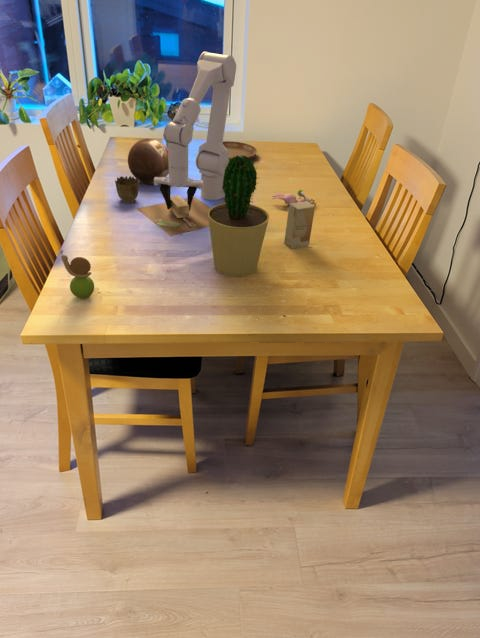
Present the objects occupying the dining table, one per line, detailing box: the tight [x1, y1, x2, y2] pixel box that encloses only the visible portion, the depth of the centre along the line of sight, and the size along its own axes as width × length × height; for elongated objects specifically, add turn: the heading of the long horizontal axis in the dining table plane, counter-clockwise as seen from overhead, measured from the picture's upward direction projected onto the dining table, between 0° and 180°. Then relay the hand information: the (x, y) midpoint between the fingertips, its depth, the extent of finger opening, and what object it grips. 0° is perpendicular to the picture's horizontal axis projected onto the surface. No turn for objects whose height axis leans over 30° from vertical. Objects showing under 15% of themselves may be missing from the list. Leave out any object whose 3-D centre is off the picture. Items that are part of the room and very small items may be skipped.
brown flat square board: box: [136, 196, 212, 237], centre depth 160 cm, size 21×22×1 cm
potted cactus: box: [208, 155, 270, 278], centre depth 129 cm, size 15×15×30 cm
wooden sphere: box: [127, 138, 169, 185], centre depth 179 cm, size 15×15×15 cm
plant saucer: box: [208, 140, 258, 161], centre depth 212 cm, size 21×21×3 cm
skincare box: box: [283, 201, 316, 249], centre depth 147 cm, size 6×4×12 cm
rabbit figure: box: [271, 189, 317, 207], centre depth 172 cm, size 6×6×15 cm
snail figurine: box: [59, 249, 95, 299], centre depth 118 cm, size 5×6×12 cm
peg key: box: [170, 195, 192, 227], centre depth 156 cm, size 4×14×4 cm, turn 25°
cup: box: [114, 176, 140, 203], centre depth 165 cm, size 8×7×8 cm
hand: (178, 209), depth 159 cm, fingers closed on peg key, 5 cm apart
